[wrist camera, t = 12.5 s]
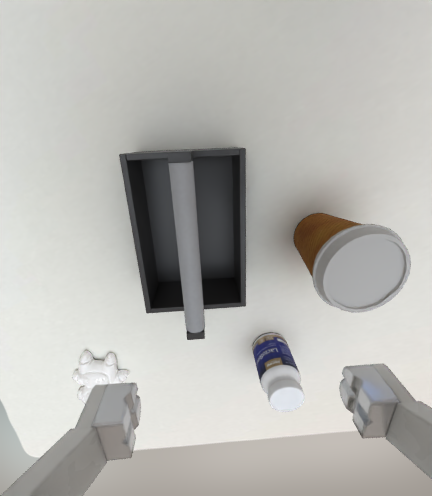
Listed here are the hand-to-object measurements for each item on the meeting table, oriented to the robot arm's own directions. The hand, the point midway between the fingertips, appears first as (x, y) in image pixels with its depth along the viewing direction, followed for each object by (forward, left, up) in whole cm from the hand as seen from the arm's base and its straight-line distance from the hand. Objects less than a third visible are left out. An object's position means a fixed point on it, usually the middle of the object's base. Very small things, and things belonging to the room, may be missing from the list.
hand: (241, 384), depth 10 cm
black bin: (+1, -3, -26) cm, 26 cm away
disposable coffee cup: (+4, +14, -26) cm, 30 cm away
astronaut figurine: (+27, -20, -26) cm, 42 cm away
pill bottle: (+23, +8, -26) cm, 36 cm away
